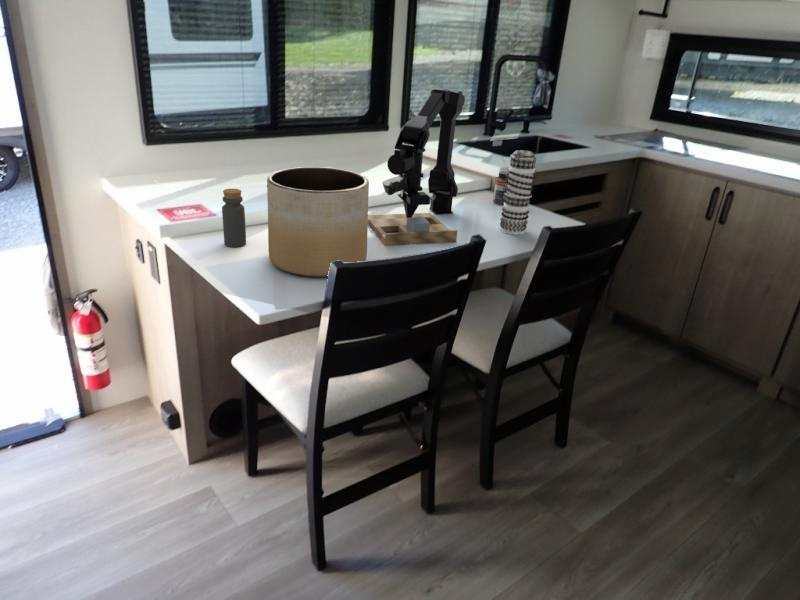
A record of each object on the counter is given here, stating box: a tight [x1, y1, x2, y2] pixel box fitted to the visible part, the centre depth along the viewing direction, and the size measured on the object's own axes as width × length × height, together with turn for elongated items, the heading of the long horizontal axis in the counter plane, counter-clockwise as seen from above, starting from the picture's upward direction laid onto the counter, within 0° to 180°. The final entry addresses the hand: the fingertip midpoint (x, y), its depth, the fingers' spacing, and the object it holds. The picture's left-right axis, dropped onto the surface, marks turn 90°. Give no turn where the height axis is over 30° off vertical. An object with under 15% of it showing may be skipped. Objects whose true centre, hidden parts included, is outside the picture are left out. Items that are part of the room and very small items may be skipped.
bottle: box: [221, 188, 247, 248], centre depth 159 cm, size 6×6×15 cm
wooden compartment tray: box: [368, 212, 458, 247], centre depth 180 cm, size 22×23×4 cm
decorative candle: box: [499, 149, 538, 235], centre depth 183 cm, size 9×9×25 cm
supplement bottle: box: [492, 170, 509, 205], centre depth 215 cm, size 6×6×11 cm
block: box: [406, 217, 430, 232], centre depth 173 cm, size 5×6×4 cm
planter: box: [266, 166, 370, 278], centre depth 150 cm, size 25×25×22 cm
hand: (408, 219), depth 181 cm, fingers closed
